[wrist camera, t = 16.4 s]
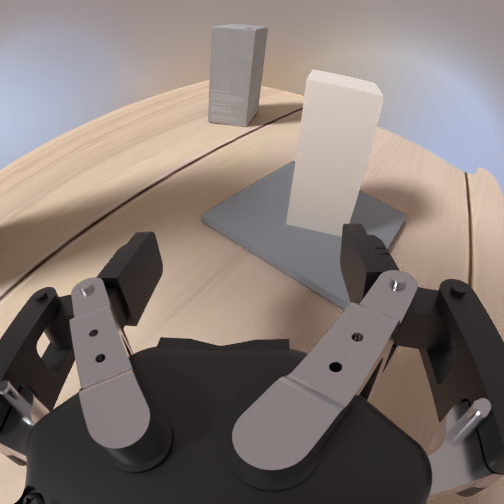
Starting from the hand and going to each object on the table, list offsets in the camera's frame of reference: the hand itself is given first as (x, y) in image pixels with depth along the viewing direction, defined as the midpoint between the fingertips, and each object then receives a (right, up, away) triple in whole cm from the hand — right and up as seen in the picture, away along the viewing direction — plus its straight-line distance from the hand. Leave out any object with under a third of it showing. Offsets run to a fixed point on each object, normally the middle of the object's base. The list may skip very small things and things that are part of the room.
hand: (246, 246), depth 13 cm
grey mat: (+6, +3, +14) cm, 16 cm away
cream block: (+6, +3, +14) cm, 15 cm away
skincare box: (-2, +21, +33) cm, 39 cm away
